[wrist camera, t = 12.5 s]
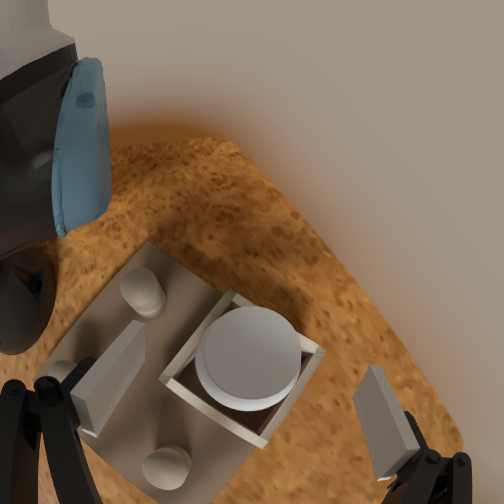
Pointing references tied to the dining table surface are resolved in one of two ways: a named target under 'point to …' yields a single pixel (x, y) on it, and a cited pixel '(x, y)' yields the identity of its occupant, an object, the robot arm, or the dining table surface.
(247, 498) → the dining table surface
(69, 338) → the wooden organizer tray
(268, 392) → the pill bottle
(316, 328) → the dining table surface
